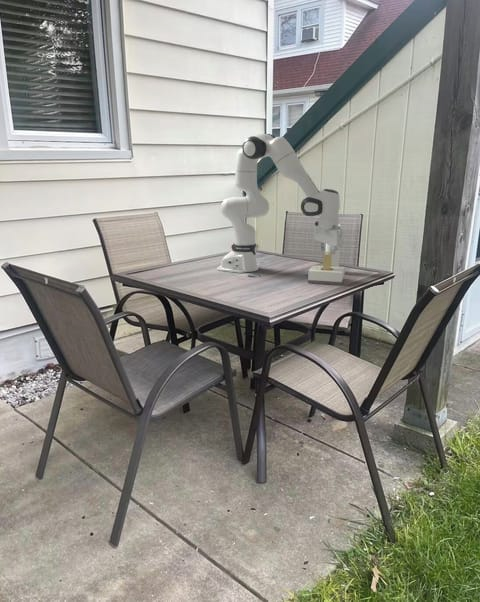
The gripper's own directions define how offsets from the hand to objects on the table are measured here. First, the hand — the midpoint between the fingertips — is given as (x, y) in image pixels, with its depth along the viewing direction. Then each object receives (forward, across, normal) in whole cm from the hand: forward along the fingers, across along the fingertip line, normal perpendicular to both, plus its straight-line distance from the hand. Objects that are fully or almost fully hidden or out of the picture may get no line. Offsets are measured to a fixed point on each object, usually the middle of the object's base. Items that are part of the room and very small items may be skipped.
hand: (327, 252), depth 233 cm
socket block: (+14, -1, 0) cm, 14 cm away
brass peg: (+12, -1, 0) cm, 13 cm away
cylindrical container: (+15, +14, -13) cm, 24 cm away
